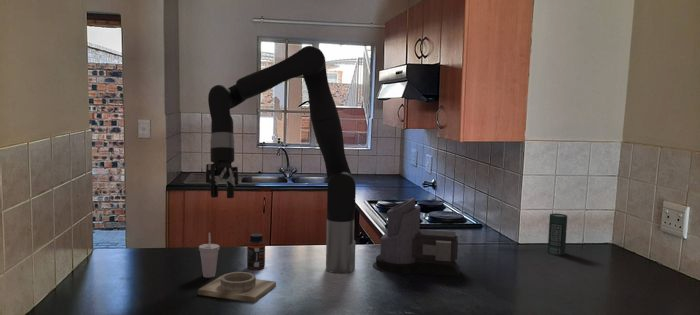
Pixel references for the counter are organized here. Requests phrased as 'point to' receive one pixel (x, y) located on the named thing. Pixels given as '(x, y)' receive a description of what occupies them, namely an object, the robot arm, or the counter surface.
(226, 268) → the counter surface
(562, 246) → the can
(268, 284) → the socket board
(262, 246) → the supplement bottle
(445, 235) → the juicer
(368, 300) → the counter surface
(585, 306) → the counter surface
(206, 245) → the smoothie
